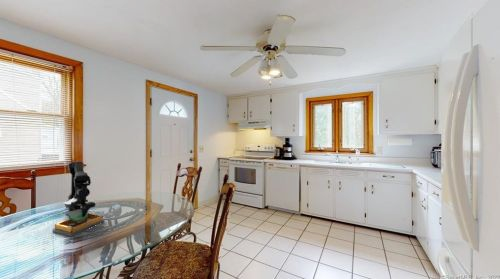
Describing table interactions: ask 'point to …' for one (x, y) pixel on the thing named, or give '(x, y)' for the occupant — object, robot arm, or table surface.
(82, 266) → the table surface
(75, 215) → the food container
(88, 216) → the wooden tray
